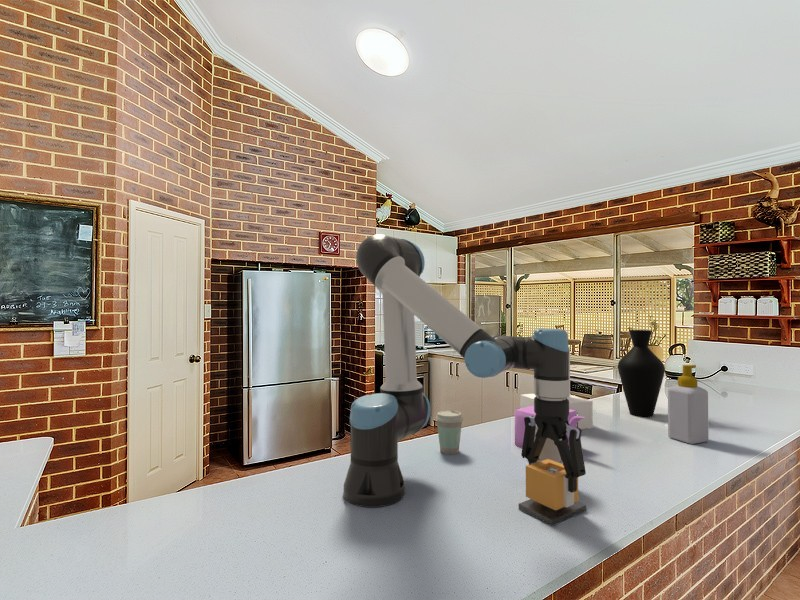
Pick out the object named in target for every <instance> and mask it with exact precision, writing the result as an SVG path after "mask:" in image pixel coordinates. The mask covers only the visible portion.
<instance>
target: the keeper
mask: <svg viewBox="0 0 800 600" xmlns="http://www.w3.org/2000/svg"><path fill="white" fill-rule="evenodd" d="M546 471H549V472H552V473H556V472H558V469H557V468H554V467H547V468H546ZM518 510H519V511H521V512H524V513H526V514H528V515H530V516H532V517H533V518H535V519H538V520H539V521H542V522H543V523H546V524H547V525H550V526H552V527H553V526H555V525H558V524H560V523H561V522H564V521H566V520H569V519H570V518H573V517H575V516H577V515H579V514H581V513H584V512H586V511H587V505H586V504H585V503H582V502H579V500H578V501H577V502H575V503H574V505H571V506H569V507H567V508H566V507H563V508H561V509H558V510H553V509H551V508H549V507H547V506H545V505H543V504H540V503H538V502H536V501H534V500H532V499H530V498H529V499H527V500H525V501H523V502H522V501H521V502H520V503H518Z"/></svg>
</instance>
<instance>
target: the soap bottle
mask: <svg viewBox="0 0 800 600" xmlns="http://www.w3.org/2000/svg"><path fill="white" fill-rule="evenodd" d="M696 367H697V365H696V364H683V365H682V375H680V376H678V377H677V384H676V385H673V386H670V387H669V388H668V389H667V435H668V438H670V439H673V440H676V441H680V442H683V443H686V444H689V445H690V444H691V445H695V444H700V443H701V444H702V443H707V442H708V441H709V392H708V390H707V389H705V388H703V387H700V386H698V379H697V377H695V376H693V369H695V368H696Z"/></svg>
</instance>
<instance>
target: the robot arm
mask: <svg viewBox="0 0 800 600" xmlns="http://www.w3.org/2000/svg"><path fill="white" fill-rule="evenodd" d="M355 260H356V264H357V268H358V270H359V271H360V273H361V274H362V275H363V277H365V279H366V280H368V282H369V283H371V284H372V285H374V286H375V288H376V289H377V290H378V291H379V292H380V293H381V294H382V315H383V317H382V318H383V319H382V320H383V343H384V369H385V371H384V372H385V373H384V375H385V381H384V382H383V384H382V385H381V386H380V392H379V393H372V394H365V395H363V396H360V397H358V398H356V399H355V400H354V401H352V404H351V406H350V414H349V423H350V425H349V428H350V431H349V432H350V435H349V436H350V438H349V439H350V443H349V444H350V463H349V467H348V470H347V473H346V477H345V480H344V483H343V498H344V499H345V500H346V501H347V502H348V503H350V504H352V505H356V506H360V507H365V508H367V507H369V508H370V507H371V508H376V507H377V508H378V507H379V508H380V507H384V506H389V505H392V504H395V503H397V502H399V501H401V500H402V499H403V498H404V496H405V495H406V484H405V483H406V482H405V479H404V476H403V474H402V469H401V468H400V465H399V461H398V460H399V459H398V458H399V457H398V456H399V455H398V454H399V453H398V452H399V451H398V446H399V445H398V444H399V443H398V442H400V441H402V440H403V439H406V438H408V437H410V436H413V435H415V434H417V433H418V432H419V431H420V430H422V429H423V428H424V427H425V426H426V425H427V423H428V421H429V419H430V416H431V403H430V401H429V398H428V397H427V396H426V394H425V393H424V392H423V391H424V389H423V388H424V386H423V384H422V383H421V382H420V381H418V378H417V377H418V375H417V350H416V331H415V330H416V327H415V317H416V318H417V319H418V320H420V322H422V323H423V324H424V325H426V327H427V328H428V329H430V330H431V331H432V332H433V333H434V334H435V335H437V336H438V337H439V338H440V339H441V340H442V341H444V342H445V343H446V344H447V345H448V346H449V347H451V349H453V350H454V351H455V352H457V354H459V355H460V356H461V357H462V358H463V360H464V364H465V367H466V369H467V370H468V371H469V372H470V374H472V375H473V376H475V377H477V378H482V379H485V378H492V377H495V376H498V375H499V374H501V373H502V372H505V371H507V370H509V369H518V370H519V369H522V370H533V394H535V395H536V397H535V398H534V412H535V413H536V415H535V417H534V416H529V417H525V418H524V422H525V432H524V439H523V446H522V448H521V457H522V458H525V459H526V460H527V462H528V465H531V464H534V463H537V460H540V459H539V456H540V454H541V451H542V449H543V446H544V444H545V441H546V439H547V438H550V439H551V440H553V441H554V444H555V445H556V446H557V448H558V451H559V454H560V457H561V464H563V466H564V469H565V472H566V474H567V475H565V476H563V501H564V507H566V508H567V507H569V506H571V505H574V492H575V491H576V490H577V477H578V478H580V477H582V476H585V475H586V474H587V473H586V472H587V471H586V466H585V460H584V452H583V447H582V440H581V439H582V433H583V431H582V430H583V429H580V428H578V427H577V428H573V427H571V426H570V425H569V422H568V416H569V400H568V399H567V397H568V396H569V336H568V334H569V333H568V332H567V331H566V330H565V329H563V328H536V329H534V331H533V335H532V336H515V335H514V336H512V335H510V336H509V335H501V334H500V335H499V334H497V335H491V334H490V333H488V332H487V331H485V330H484V329H483V328H482V327H481V326H480V325H478V324H477V323H476V322H475V321H474V320H472V319H471V318H470V317H469V316H468V315H466V314H465V313H464V312H463V311H461V310H460V309H459V308H458V307H456V306H455V305H454V304H453V303H451V301H449V300H448V299H447V298H446V297H444V296H443V295H442V294H441V293H439V292H438V291H437V290H436V289H435V288H433V287H432V286H431V285H430V284H429V283H427V282H426V281H425V280H423V278H422V277H421V275H422V273H424V270H425V265H426V264H425V257H424V254H423V252H422V250H421V248H420V247H419V246H418V245H417V244H415V243H414V242H411V241H410V240H408V239H404V238H399V237H398V238H397V237H394V236H390V235H387V234H381V233H380V234H379V233H378V234H373V235H370V236H368V237H366V238H365V239H363V240H362V242H361V243H360V244H359V246H358V248H357V250H356V256H355ZM536 425H537V427H538V430H537V432H536V435H535V430H536ZM566 432H568V435H566ZM567 436H568V437H569V441H568V438H567ZM534 437H536V438H535V441H534ZM559 439H562V440H559ZM568 442H569V445H570V448H569V445H568ZM538 462H539V461H538Z"/></svg>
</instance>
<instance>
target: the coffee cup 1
mask: <svg viewBox="0 0 800 600" xmlns="http://www.w3.org/2000/svg"><path fill="white" fill-rule="evenodd" d="M435 420H436V425H437V434H438V435H437V436H438V442H439V449H440V453H442V454H445V455H456V454H458V453H459V451H460V446H461V445H460V443H461V432H462V424H463V421H464V417H463V416H462V412H460V411H458V410H452V409H451V410H441V411H438V412H437V414H436V416H435Z"/></svg>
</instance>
